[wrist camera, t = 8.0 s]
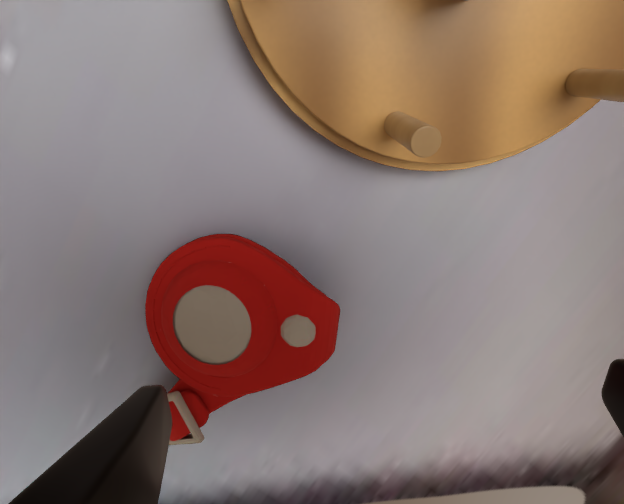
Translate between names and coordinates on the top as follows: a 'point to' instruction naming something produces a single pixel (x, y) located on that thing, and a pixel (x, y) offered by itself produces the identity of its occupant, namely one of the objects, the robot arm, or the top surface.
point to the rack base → (323, 128)
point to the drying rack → (444, 69)
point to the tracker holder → (233, 326)
